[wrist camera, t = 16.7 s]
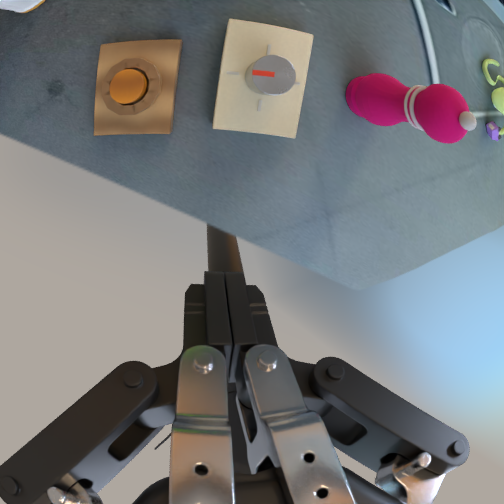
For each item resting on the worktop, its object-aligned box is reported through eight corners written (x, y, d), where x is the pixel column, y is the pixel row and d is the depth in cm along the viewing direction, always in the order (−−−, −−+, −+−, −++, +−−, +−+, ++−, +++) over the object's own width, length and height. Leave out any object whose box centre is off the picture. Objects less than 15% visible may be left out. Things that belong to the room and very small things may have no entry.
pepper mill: (367, 64, 29) (480, 71, 12) (391, 104, 32) (499, 137, 16) (332, 89, 31) (439, 106, 14) (359, 129, 34) (463, 176, 18)
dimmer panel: (288, 134, 34) (295, 138, 31) (212, 125, 32) (212, 129, 29) (305, 38, 26) (314, 34, 24) (227, 24, 24) (229, 18, 22)
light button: (145, 102, 25) (142, 103, 24) (112, 103, 25) (107, 104, 23) (149, 69, 23) (145, 68, 22) (115, 71, 22) (110, 70, 21)
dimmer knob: (284, 62, 26) (298, 57, 21) (281, 96, 28) (294, 97, 24) (246, 58, 25) (254, 51, 20) (243, 93, 27) (250, 93, 23)
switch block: (172, 131, 31) (168, 136, 28) (99, 132, 29) (88, 138, 26) (182, 42, 25) (179, 36, 21) (106, 46, 23) (95, 42, 19)
